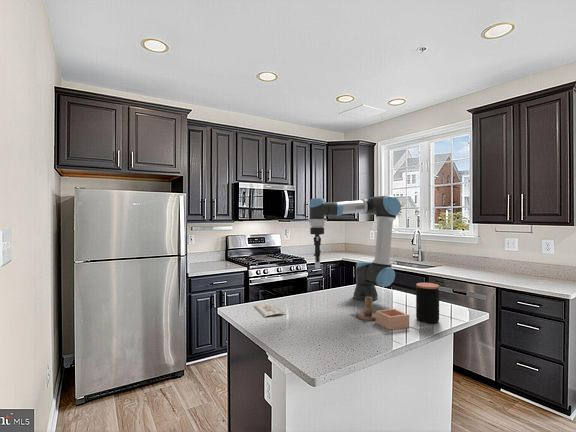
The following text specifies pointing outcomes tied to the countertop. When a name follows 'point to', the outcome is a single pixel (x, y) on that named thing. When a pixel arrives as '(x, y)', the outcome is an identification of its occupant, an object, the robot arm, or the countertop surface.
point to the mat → (360, 319)
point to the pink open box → (392, 319)
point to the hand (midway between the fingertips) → (317, 266)
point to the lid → (367, 311)
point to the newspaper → (268, 309)
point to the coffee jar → (427, 302)
